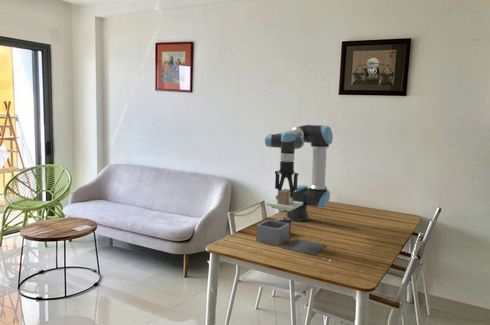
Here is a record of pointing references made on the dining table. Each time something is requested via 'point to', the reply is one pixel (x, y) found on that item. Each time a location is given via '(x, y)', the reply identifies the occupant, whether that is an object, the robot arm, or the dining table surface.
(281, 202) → the block on square base
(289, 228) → the dark elongated oval piece
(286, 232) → the storage box
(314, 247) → the mat
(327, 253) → the dining table surface
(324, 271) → the dining table surface
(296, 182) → the robot arm
